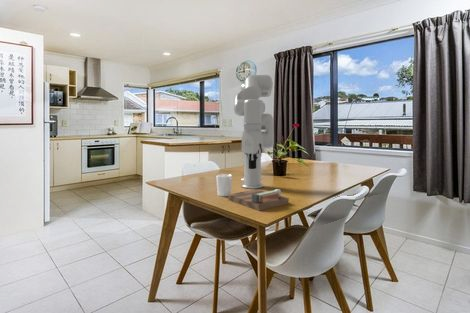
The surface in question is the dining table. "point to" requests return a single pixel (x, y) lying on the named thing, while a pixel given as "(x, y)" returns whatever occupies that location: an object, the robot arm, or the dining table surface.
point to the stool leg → (257, 197)
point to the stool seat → (265, 203)
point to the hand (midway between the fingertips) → (252, 168)
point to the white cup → (224, 184)
